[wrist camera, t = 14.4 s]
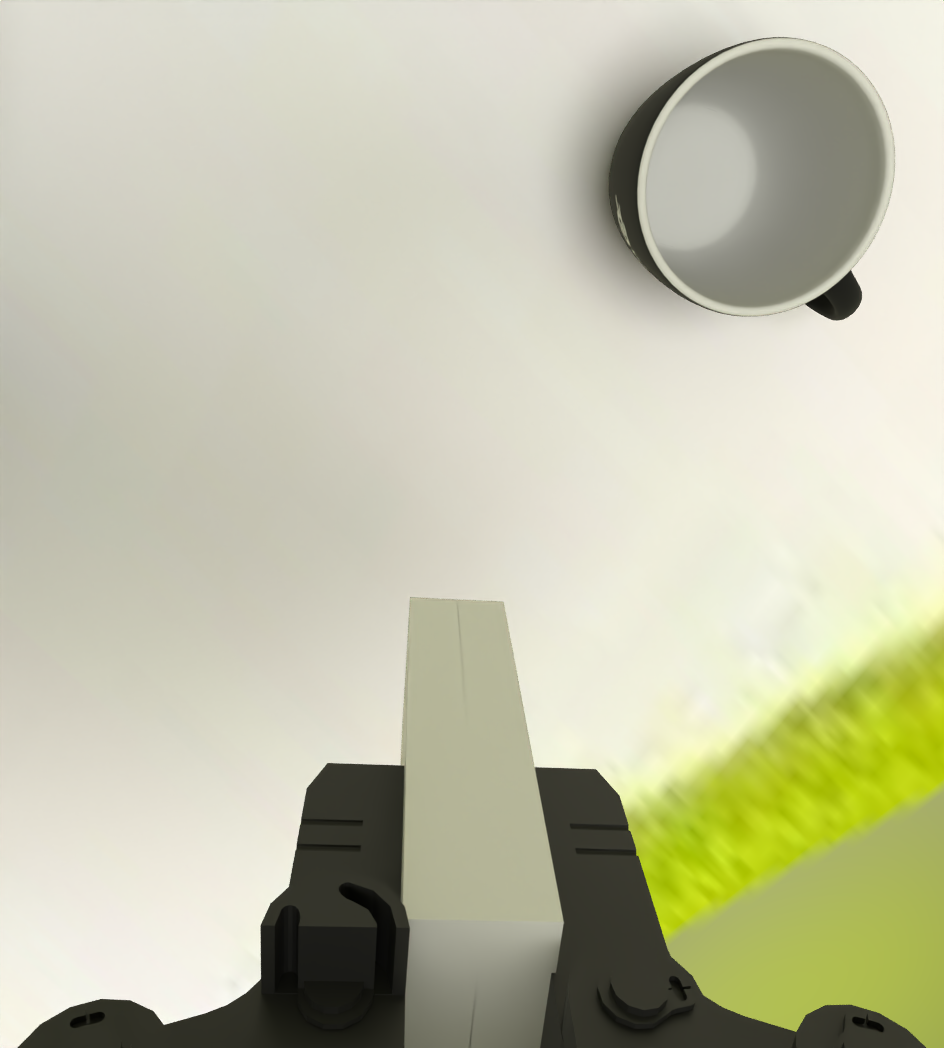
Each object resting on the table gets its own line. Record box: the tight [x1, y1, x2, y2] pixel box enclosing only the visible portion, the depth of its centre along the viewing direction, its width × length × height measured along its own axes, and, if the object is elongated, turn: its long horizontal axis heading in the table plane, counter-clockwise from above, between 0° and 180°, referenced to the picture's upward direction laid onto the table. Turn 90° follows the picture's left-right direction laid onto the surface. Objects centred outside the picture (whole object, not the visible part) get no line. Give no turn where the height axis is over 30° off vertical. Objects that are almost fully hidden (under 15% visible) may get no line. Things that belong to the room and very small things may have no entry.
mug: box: [609, 37, 895, 320], centre depth 36 cm, size 12×9×10 cm
